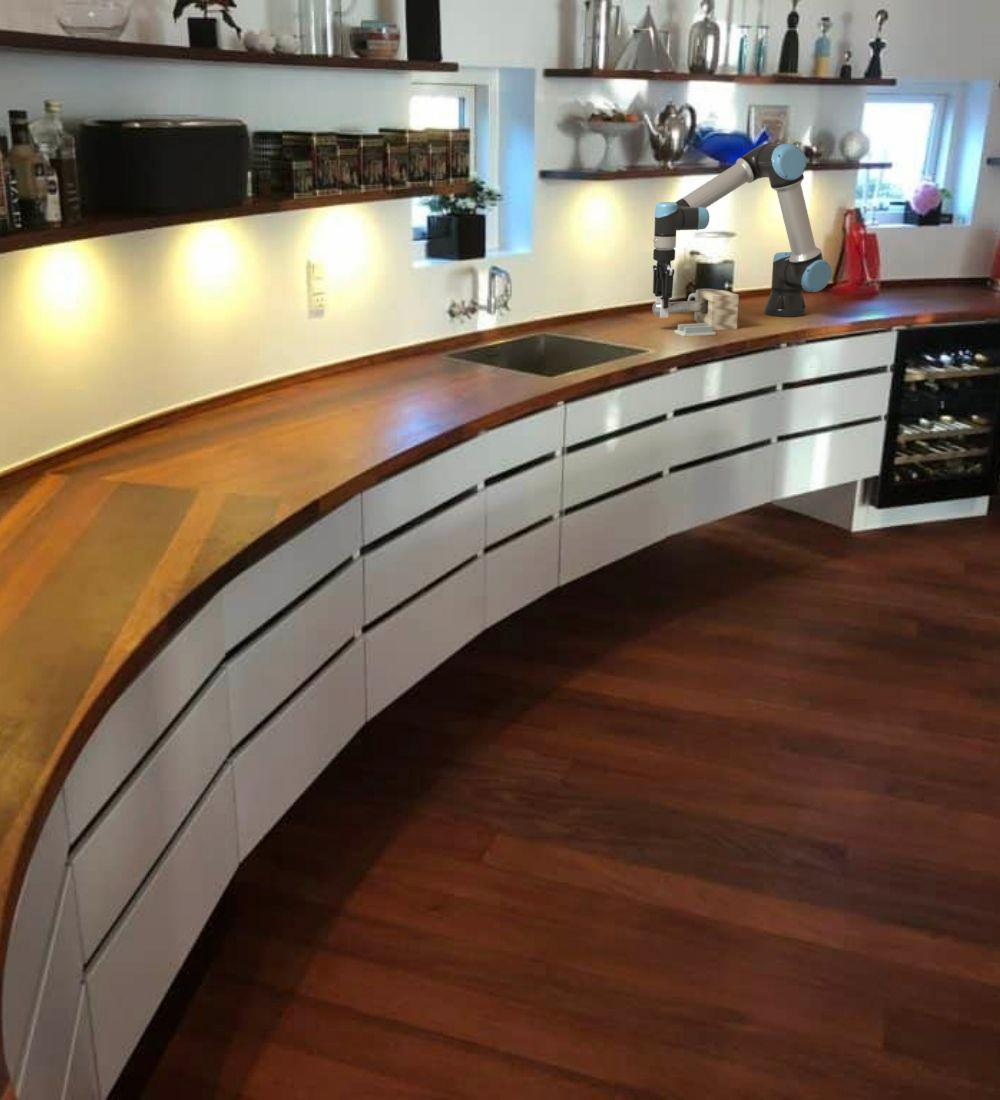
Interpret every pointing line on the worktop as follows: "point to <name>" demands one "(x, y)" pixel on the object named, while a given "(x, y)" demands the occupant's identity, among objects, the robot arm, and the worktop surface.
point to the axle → (683, 307)
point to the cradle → (694, 329)
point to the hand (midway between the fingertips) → (661, 316)
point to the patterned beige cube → (719, 309)
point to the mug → (697, 298)
